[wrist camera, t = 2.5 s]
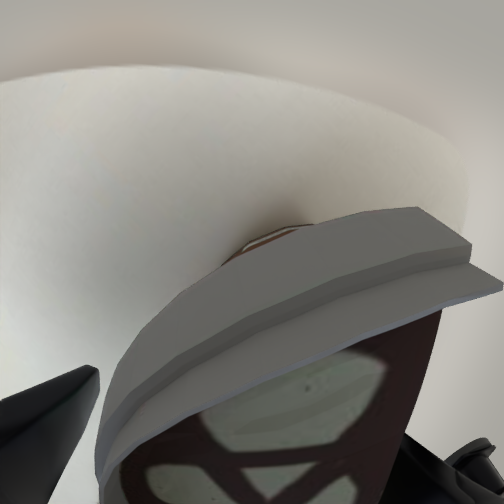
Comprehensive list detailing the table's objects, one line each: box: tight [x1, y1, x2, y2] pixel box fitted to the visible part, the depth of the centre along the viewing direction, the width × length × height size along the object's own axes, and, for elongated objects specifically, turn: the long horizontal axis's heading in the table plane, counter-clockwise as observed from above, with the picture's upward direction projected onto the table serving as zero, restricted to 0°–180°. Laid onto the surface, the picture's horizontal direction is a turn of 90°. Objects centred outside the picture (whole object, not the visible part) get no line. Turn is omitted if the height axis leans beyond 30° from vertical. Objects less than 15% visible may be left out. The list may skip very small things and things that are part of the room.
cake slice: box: [95, 207, 503, 504], centre depth 8 cm, size 12×6×10 cm, turn 2°
